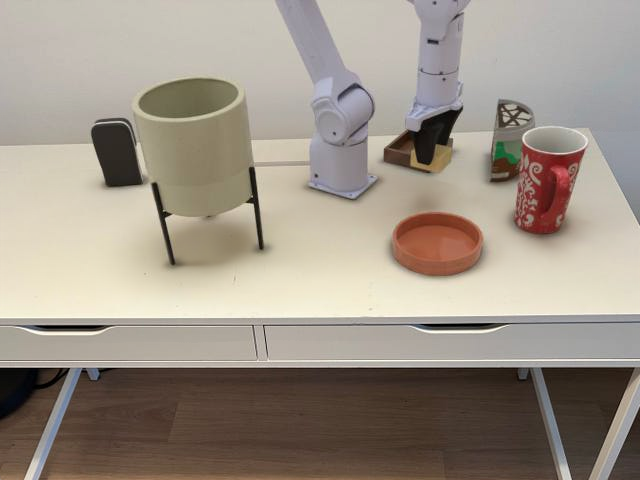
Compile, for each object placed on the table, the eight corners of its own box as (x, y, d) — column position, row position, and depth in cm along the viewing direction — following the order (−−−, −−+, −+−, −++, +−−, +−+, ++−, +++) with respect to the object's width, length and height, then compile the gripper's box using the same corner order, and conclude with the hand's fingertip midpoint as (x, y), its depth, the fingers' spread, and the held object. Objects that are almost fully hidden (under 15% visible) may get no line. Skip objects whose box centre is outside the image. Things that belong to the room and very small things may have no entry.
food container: (528, 188, 110) (539, 130, 103) (490, 186, 111) (499, 129, 104) (525, 153, 119) (535, 98, 112) (490, 152, 120) (498, 97, 113)
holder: (383, 161, 120) (383, 148, 118) (407, 140, 125) (408, 128, 123) (429, 173, 115) (430, 159, 114) (452, 151, 121) (453, 138, 119)
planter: (253, 207, 110) (236, 66, 95) (270, 260, 99) (253, 110, 83) (163, 222, 109) (129, 81, 93) (169, 278, 97) (132, 128, 81)
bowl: (376, 258, 98) (376, 244, 96) (417, 217, 105) (418, 203, 104) (457, 285, 92) (459, 271, 90) (494, 240, 100) (496, 226, 98)
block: (410, 165, 103) (411, 150, 101) (422, 155, 105) (423, 140, 104) (439, 173, 101) (440, 158, 99) (450, 162, 103) (452, 147, 101)
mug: (503, 206, 106) (517, 125, 97) (561, 205, 105) (581, 124, 96) (514, 251, 97) (531, 167, 88) (578, 251, 96) (601, 166, 87)
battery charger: (146, 174, 121) (131, 113, 113) (143, 184, 118) (128, 123, 110) (108, 177, 121) (91, 116, 113) (104, 187, 118) (86, 126, 111)
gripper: (440, 90, 87) (432, 183, 96) (486, 54, 95) (474, 143, 105) (393, 81, 90) (390, 172, 99) (441, 47, 98) (434, 134, 108)
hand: (430, 157), depth 102 cm, fingers closed on block, 4 cm apart
